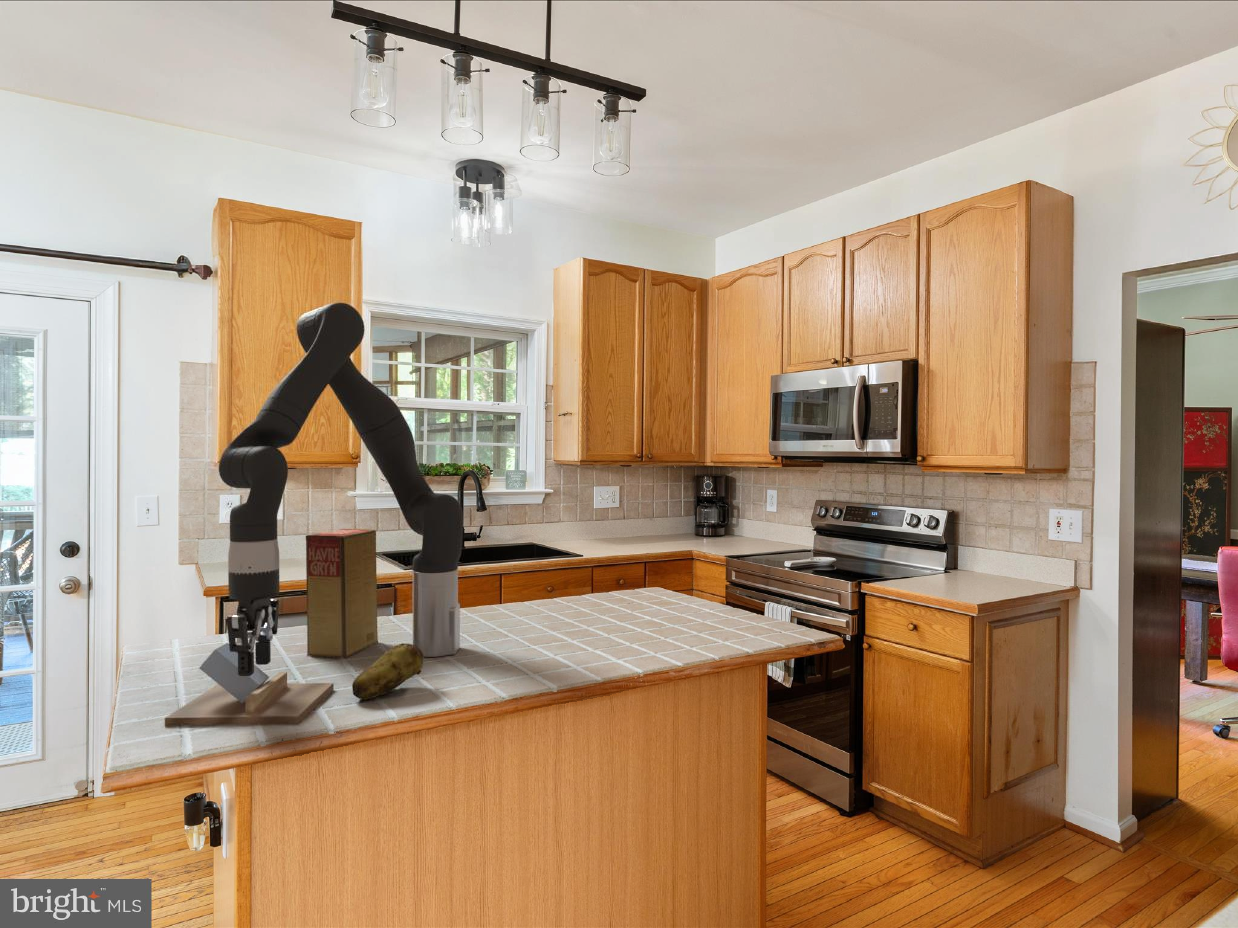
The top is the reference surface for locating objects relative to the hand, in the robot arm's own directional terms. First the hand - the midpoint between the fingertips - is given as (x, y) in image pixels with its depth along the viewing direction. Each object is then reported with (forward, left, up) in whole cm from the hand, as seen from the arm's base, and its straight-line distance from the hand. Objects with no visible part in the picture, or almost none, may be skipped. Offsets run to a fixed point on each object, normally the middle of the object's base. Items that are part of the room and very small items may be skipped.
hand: (254, 668), depth 120 cm
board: (0, 0, -6) cm, 6 cm away
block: (0, 0, -4) cm, 4 cm away
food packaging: (-3, -35, -6) cm, 36 cm away
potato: (-20, -6, -6) cm, 22 cm away
